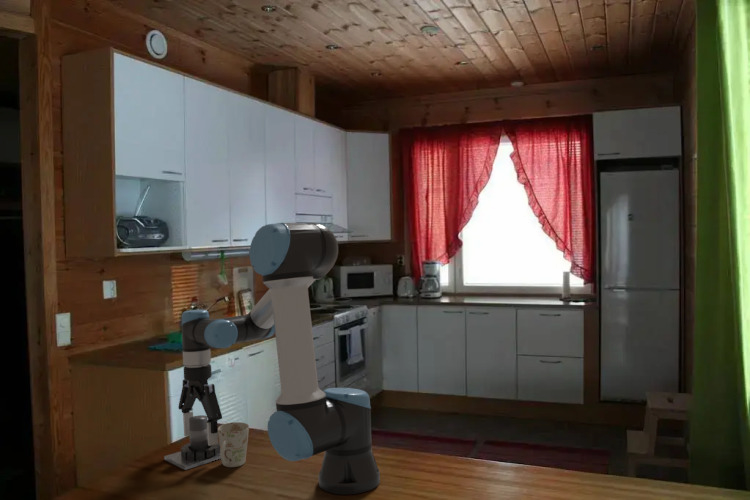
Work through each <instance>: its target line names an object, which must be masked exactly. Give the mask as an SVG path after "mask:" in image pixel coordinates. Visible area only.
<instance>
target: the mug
mask: <svg viewBox="0 0 750 500" xmlns="http://www.w3.org/2000/svg"><path fill="white" fill-rule="evenodd" d="M249 431H250V426H249V424H248V423H245V422H239V421H238V422H235V421H233V422H228V423H223V424H222V425H221V424H220V425H219V426H218V442H219V443H220V449H221V459H220V460H221V465H223V466H224V467H227V468H237V467H240V466H243V465H244V464H245V463H246V458H247V448H248V442H249Z"/></svg>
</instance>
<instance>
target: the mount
mask: <svg viewBox="0 0 750 500" xmlns="http://www.w3.org/2000/svg"><path fill="white" fill-rule="evenodd" d="M163 458H164V461H166V462H167V463H170V464H172V465H174V466H175V467H178V468H180V469H182V470H184V471H187V470H190V469H193V468H197V467H200V466H203V465H206V464H209V463H213V462H215V460H216V461H218V459H219V460H221V449H220V443H219V441H218V444H214V445H211V446H209V448H207V449H204V450H191V448H190V442H188V443H186V444H184V445H182V446H181V448H180V451H178V452H174V453H171V454H168V455H167V454H166V455H164V456H163ZM212 461H213V462H212Z"/></svg>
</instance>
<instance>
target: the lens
mask: <svg viewBox="0 0 750 500" xmlns="http://www.w3.org/2000/svg"><path fill="white" fill-rule="evenodd" d="M207 420H208V418H207V415H193V417H191V418H189V428H190V429H189V432H190V435H189V443H190V448H191V450H204V449H207V448H209V446H208V434H207Z"/></svg>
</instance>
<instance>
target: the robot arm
mask: <svg viewBox="0 0 750 500" xmlns="http://www.w3.org/2000/svg"><path fill="white" fill-rule="evenodd" d="M338 256H339V243H338V240H337V238H336V235H335V234H334V233H333V231H331V230H330V228H328V227H327V226H325V225H323V224H321V223H316V222H307V223H306V222H305V223H304V222H276V223H269V224H264V225H263V226H261V227H260V228H259V229H257V230H256V232H255V234H254V236H253V238H252V239H251V243H250V247H249V261H250V265H251V267H252V268H253V270H254V272H255V273H256V274H258V275H260V276H262V283H263V285H265V286H266V288H268V290H267V291H266V292H265V293H264V295H263V296H262V297H261V298H260V300H259V301H258V302H256V304H255V305H254V306H253V308H251V310H249V312H248V313H247V314H243V315H237V316H236V315H235V316H228V317H221V318H210V313H209V311H208V310H207V309H190V310H185V311H183V312H182V313H181V324H180V327H181V342H182V344H181V345H182V362H183V363H182V364H183V366H184V367H183V379H182V387H181V393H180V398H179V402H178V410H181V413H182V416H183V417H182V419H183V436H184V437H187V436H190V432H189V429H190V428H189V418H191V417H193V416H194V411H193V410H194V408H193V407H194V405H195V402H196V400H198V401H199V402H200V403H201V405H202V408H203V411H204V413H205V416H207V434H208V446H211V445H214V444H218V442H219V436H218V427H219V426H218V422H219V420H222V419H223V415H222V411H221V408H220V404H219V401H218V397H217V395H216V389H215V388H216V387H215V384H214V383H211V384H209V381H208V380H209V379H211V378H212V365H211V362H212V359H211V354H212V351H211V348H216V349H228V348H230V347H232V346H233V345H235V344H241V343H245V342H252V341H262V340H264V339H268V338H271V337H272V336H274V335H275V342H276V343H275V344H276V353H277V363H278V373H279V381H280V382H279V383H280V391H281V392H280V394H279V396H278V397H277V398H276V400H275V406H276V407H275V408H276V409H275V410H276V411H274V412H273V413H272V414H271V415H270V416H269V418H268V419H269V420H268V422H267V435H268V438H269V440H270V443H271V445H272V447H273V449H274V450H275V451H276V452H277V454H278V455H279V456H280V457H282V458H283V459H285V460H287V461H288V462H298V461H301V460H307V459H310V458H311V457H314V456H316V455H318V454H322V453H324V454H323V459H322V464H321V468H320V471H319V472H318V487H319V488H320V489H321V490H323V491H325V492H327V493H330V494H335V495H357V494H361V493H362V494H363V493H366V492H369V491H372V490H373V489H375V488H377V487H378V486H379V485H380V484H381V483H380V482H381V478H380V477H381V476H380V475H381V474H380V469H379V468H378V465H377V461H376V459H375V456H374V452H373V445H372V414H371V413H372V410H371V409H372V406H371V401H370V395H369V394H368V392H366V391H365V390H363V389H359V388H351V387H329V388H326V389H324V390H322V389H320V387H319V378H318V371H317V362H316V352H315V343H314V334H313V333H314V332H313V324H312V316H311V314H312V313H311V306H310V297H309V288H310V286H311V285H312V284H313V283H314V282H316V280H322V279H323V278H324V277H325V276H326V275H327V274H328V273H329V272H330V270H331V269H332V268H333V267H334V266H335V263H336V261H337V260H338Z"/></svg>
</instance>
